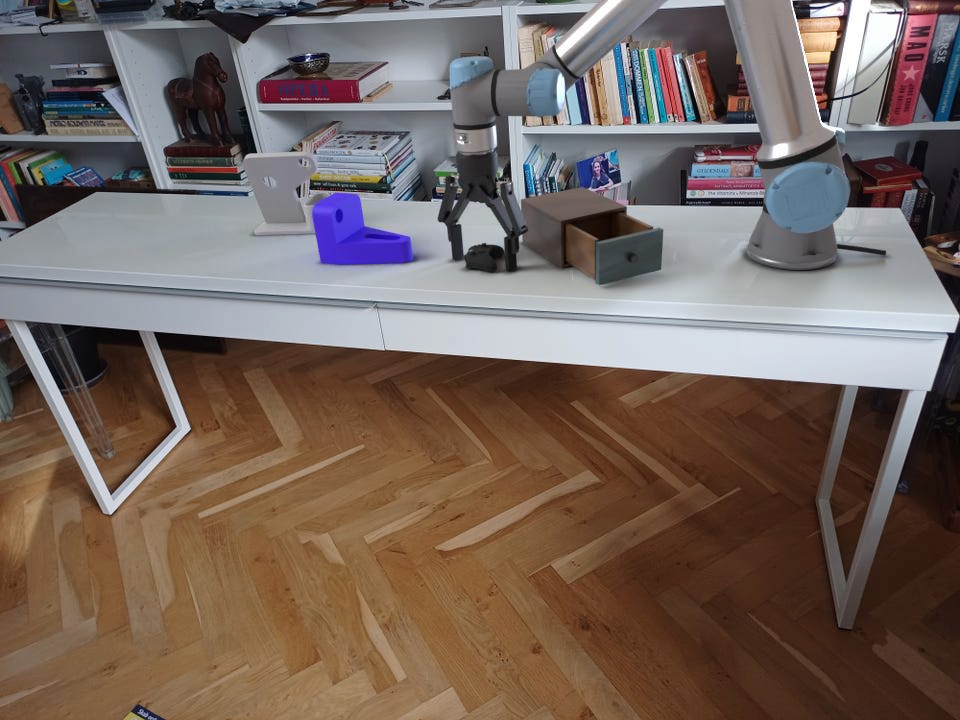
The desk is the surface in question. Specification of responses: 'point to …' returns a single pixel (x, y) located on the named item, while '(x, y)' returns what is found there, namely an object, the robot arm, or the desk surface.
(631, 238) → the drawer
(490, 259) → the gaming controller
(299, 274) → the desk surface
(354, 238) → the bracket
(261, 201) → the phone holder
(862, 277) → the desk surface
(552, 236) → the cabinet
